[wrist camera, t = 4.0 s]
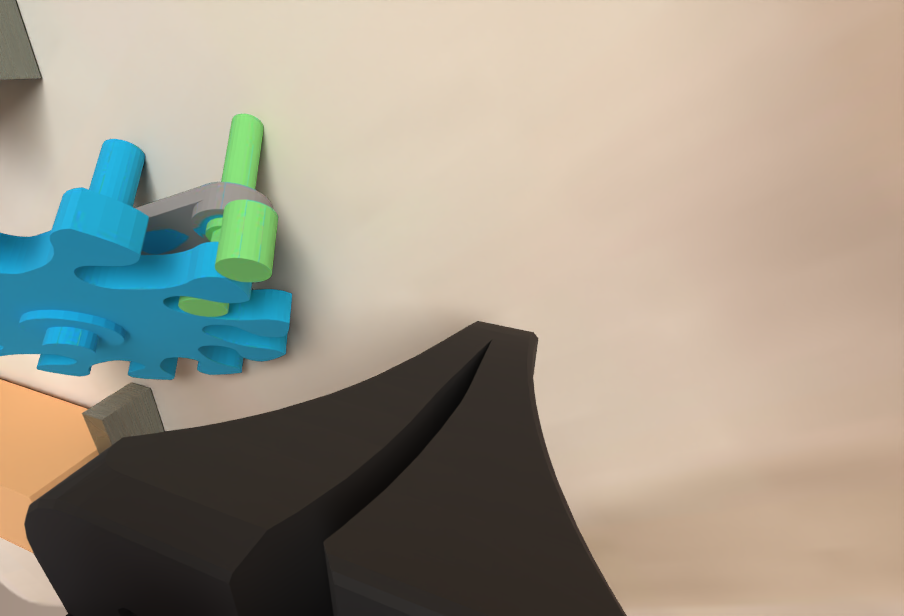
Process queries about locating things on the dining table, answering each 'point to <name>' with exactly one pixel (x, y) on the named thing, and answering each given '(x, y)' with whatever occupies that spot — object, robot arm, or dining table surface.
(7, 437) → the press ram
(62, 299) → the gear
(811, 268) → the dining table surface
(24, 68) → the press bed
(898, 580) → the dining table surface
